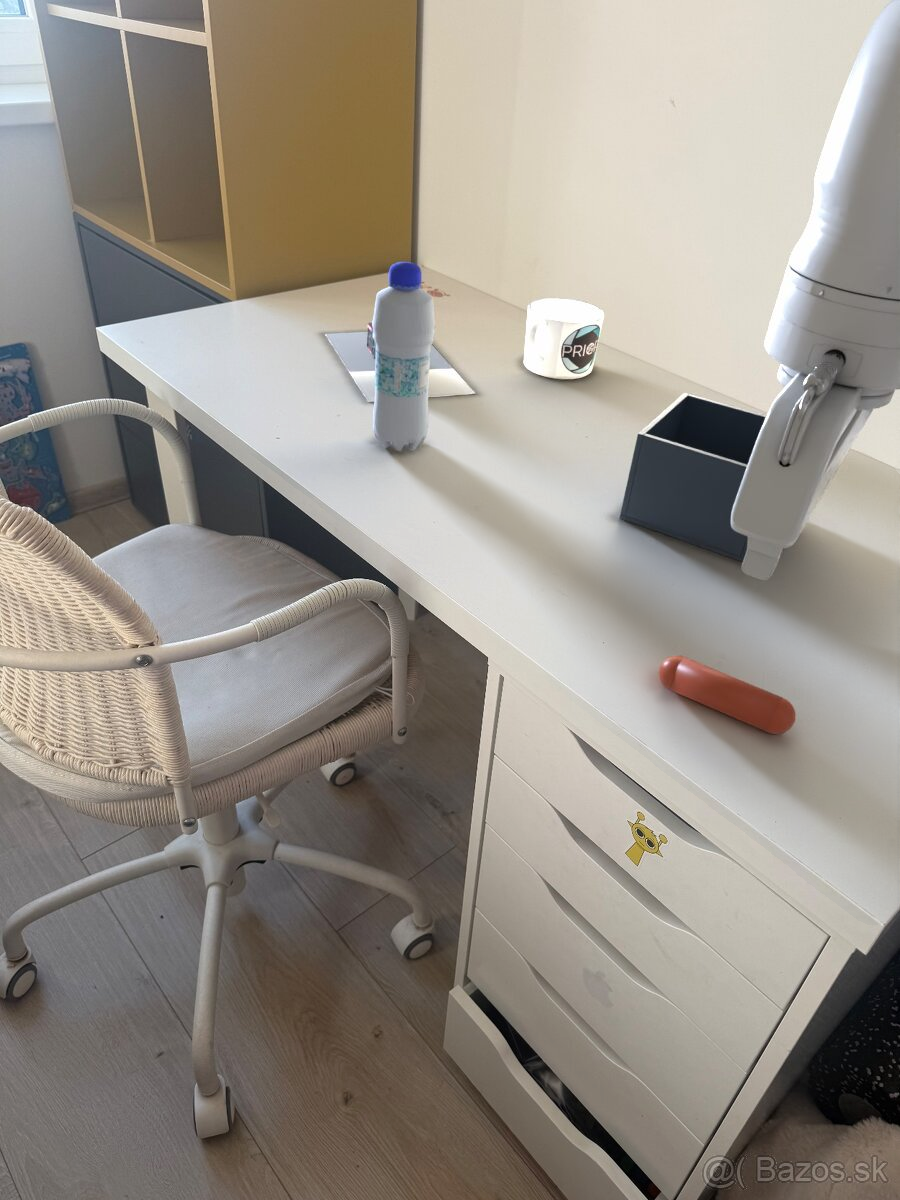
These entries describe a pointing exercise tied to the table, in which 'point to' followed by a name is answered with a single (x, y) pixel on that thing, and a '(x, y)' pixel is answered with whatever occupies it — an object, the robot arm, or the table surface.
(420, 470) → the table surface
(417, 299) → the bottle
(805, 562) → the table surface
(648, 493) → the bin
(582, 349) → the mug
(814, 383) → the robot arm
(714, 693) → the orange round-ended cylinder
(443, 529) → the table surface
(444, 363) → the shiny metal sheet
